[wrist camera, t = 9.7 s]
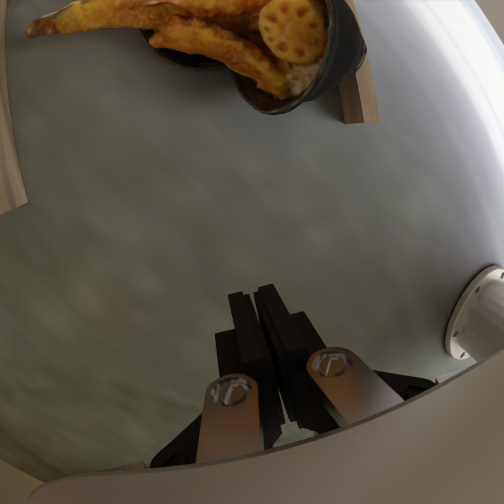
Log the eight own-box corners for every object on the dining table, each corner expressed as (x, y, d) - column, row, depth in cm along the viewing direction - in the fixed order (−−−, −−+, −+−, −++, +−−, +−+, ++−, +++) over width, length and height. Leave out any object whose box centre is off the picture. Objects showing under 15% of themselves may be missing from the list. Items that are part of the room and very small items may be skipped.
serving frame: (301, -84, 12) (312, -99, 10) (359, 122, 19) (379, 121, 17) (-2, -18, 9) (-15, -29, 7) (15, 207, 16) (-3, 216, 14)
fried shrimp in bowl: (384, 139, 15) (0, 195, 7) (274, 88, 22) (31, 114, 14) (419, -8, 10) (-5, -78, 1) (291, -16, 16) (32, -22, 8)
